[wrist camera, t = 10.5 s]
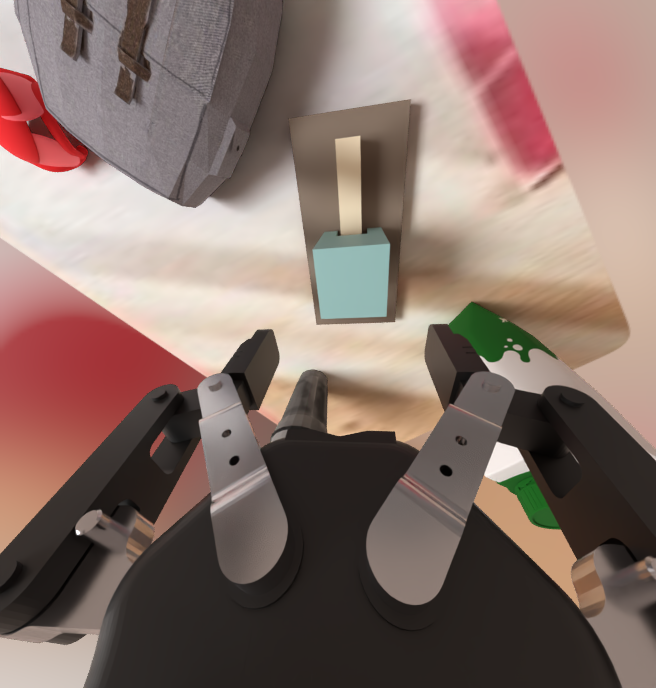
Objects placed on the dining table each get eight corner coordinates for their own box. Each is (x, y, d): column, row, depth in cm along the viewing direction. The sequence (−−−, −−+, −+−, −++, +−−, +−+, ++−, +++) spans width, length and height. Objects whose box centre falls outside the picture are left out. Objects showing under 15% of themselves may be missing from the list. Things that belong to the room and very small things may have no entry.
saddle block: (324, 232, 25) (312, 249, 18) (381, 227, 24) (390, 243, 17) (329, 287, 28) (321, 318, 21) (379, 284, 27) (386, 316, 21)
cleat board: (291, 121, 21) (282, 112, 18) (407, 103, 20) (415, 91, 17) (317, 320, 32) (314, 332, 29) (393, 317, 31) (397, 330, 28)
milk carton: (420, 344, 33) (485, 508, 16) (472, 290, 28) (642, 446, 11) (468, 371, 34) (572, 544, 18) (526, 324, 29) (741, 503, 13)
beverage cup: (343, 388, 39) (334, 540, 22) (306, 400, 41) (273, 544, 25) (321, 356, 35) (291, 506, 19) (283, 371, 38) (226, 515, 22)
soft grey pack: (225, 223, 27) (336, -25, 17) (179, 237, 20) (322, -172, 10) (81, 113, 22) (114, -306, 12) (-42, 82, 15) (-184, -908, 6)
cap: (20, 39, 18) (-101, 25, 16) (57, 131, 19) (-51, 129, 17) (82, 119, 25) (5, 116, 23) (106, 181, 26) (35, 184, 24)
